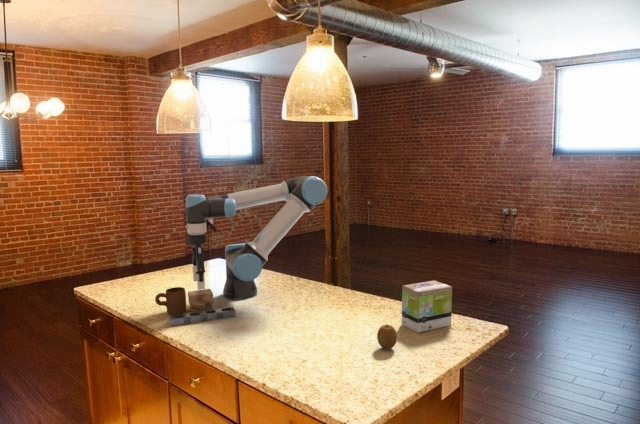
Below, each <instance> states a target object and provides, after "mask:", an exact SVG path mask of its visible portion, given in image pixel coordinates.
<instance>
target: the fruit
mask: <svg viewBox="0 0 640 424" xmlns="http://www.w3.org/2000/svg"><path fill="white" fill-rule="evenodd" d="M376 334H377V336H376V338H377V339H376V340H377V342H378V344H379V346H380V347H381V348H383V349H385V350H389V349H393V347H395V345H396V343H397V341H398V337H397V336H398V335H397V331H396V329H395V328H394V326H392V325H391V324H384V325H381V326H380V327H379V328H378V330H377V333H376Z"/></svg>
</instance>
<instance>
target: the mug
mask: <svg viewBox="0 0 640 424" xmlns="http://www.w3.org/2000/svg"><path fill="white" fill-rule="evenodd" d="M160 298H165V300H161V299H160ZM154 300H155V303H156V305H158V306H163V307H166V313H167V314H168V315H169V316H170V315H177V314H184V313H187V295H186V289H185V288H184V287H183V286H182V287H181V286H180V287H179V286H177V287H176V286H175V287H170V288H167V289H166V290H165V293H164V292H160V293H157V294H156V296H155V299H154Z"/></svg>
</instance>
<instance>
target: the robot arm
mask: <svg viewBox="0 0 640 424" xmlns="http://www.w3.org/2000/svg"><path fill="white" fill-rule="evenodd" d="M327 197H328V186H327V184H326V182H325V181H324V180H323V179H322V178H319V177H318V176H315V175H314V176H313V175H309V176H308V175H300V176H297V177H294V178H290V179H287V180H282V182H281V183H277V184H273V185H267V186H262V187H257V188H253V189H252V188H251V189H246V190H241V191H236V192H231V193H227V194H222V195H212V196H210V197H209V198H208V199H207V198H206V196H205V195H204V194H188V195H186V197H185V218H186V225H185V226H184V227H185V229H186V232H187V235H186V238H187V241H186V242H187V244H189V245H191V263H192V280H193V282H196V285H197V290H205V289H206V283H205V282H206V281H205V273H206V270H205V260H204V248H203V246H202V244H206V243H207V241H208V240H207V239H208V238H207V219H210V218H211V219H212V218H213V219H214V218H230V217H235V216H236V213H237V210H243V209H247V208H252V207H256V206H262V205H267V204H272V203H275V202H277V203H278V202H281V201H285V202H286V203H285V204H284V205H283V206H282V207H281V208H280V210H278V212H276V214H275V216H273V217H272V219H270V221H269V222H268V223H267V224H266V225H265V227H264V228H263V229H262V230H260V232H259V234H257V235H256V237H254V239H253V240H252V241H248V242H245V243H231V244H227V245H226V246H225V247H224V248H225V249H224V254H225V275H226V279H225V284H224V285H223V291H222V295H223V297H224V298H226V299H228V300H229V299H231V300H244V299H250V298H252V297H255V296H257V294H258V287H257V284H256V282H255V279H257V278H258V277H260V275H261V274H262V270H263V266H264V265H265V264H266V263H267V262H268V260H269V259H268V256H269V254H270V253H271V252H272V251H273V249H274V248H275V247H276V246H277V244H278V243H280V241H281V240H282V239H283V238H284V237H285V236H286V234H288V232H289V231H290V230H291V229H292V228H293V227H294V225H295V224H296V223H297V222H298V220H299V219H300V218H301V217H302V216H303V215H304V214H305V213H311V211H312V210H313V209H314V207H315V206H317V205H320V204H322V203H323V202H324V201H325V200H326V198H327Z"/></svg>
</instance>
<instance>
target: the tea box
mask: <svg viewBox="0 0 640 424" xmlns="http://www.w3.org/2000/svg"><path fill="white" fill-rule="evenodd" d="M401 289H402V291H401V293H402V295H401V296H402V297H401V325H403V326H404V327H406V328H408V329H410V330H411V331H414V332H416V333H419V334H420V333H422V332H425V331H426V332H427V331H430V330H435V329H440V328H446V327H450V326H451V325H452V314H453V313H452V310H453V309H452V308H453V307H452V304H453V303H452V302H453V286H451V285H448V284H447V283H443V282H439V281H438V280H428V281H424V282H417V283H410V284H404V285H402V288H401Z"/></svg>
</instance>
